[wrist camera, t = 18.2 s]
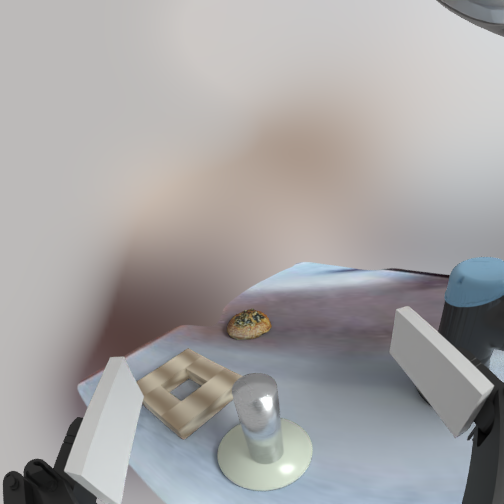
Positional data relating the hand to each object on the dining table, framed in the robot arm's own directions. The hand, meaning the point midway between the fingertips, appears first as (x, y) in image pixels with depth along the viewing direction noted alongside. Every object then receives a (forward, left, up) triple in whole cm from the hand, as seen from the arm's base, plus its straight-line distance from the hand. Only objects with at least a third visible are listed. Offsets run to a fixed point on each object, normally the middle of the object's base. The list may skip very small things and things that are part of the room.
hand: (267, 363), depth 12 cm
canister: (-8, -9, -29) cm, 32 cm away
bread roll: (-34, -34, -30) cm, 57 cm away
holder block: (-10, -30, -30) cm, 43 cm away
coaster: (-8, -10, -30) cm, 32 cm away
